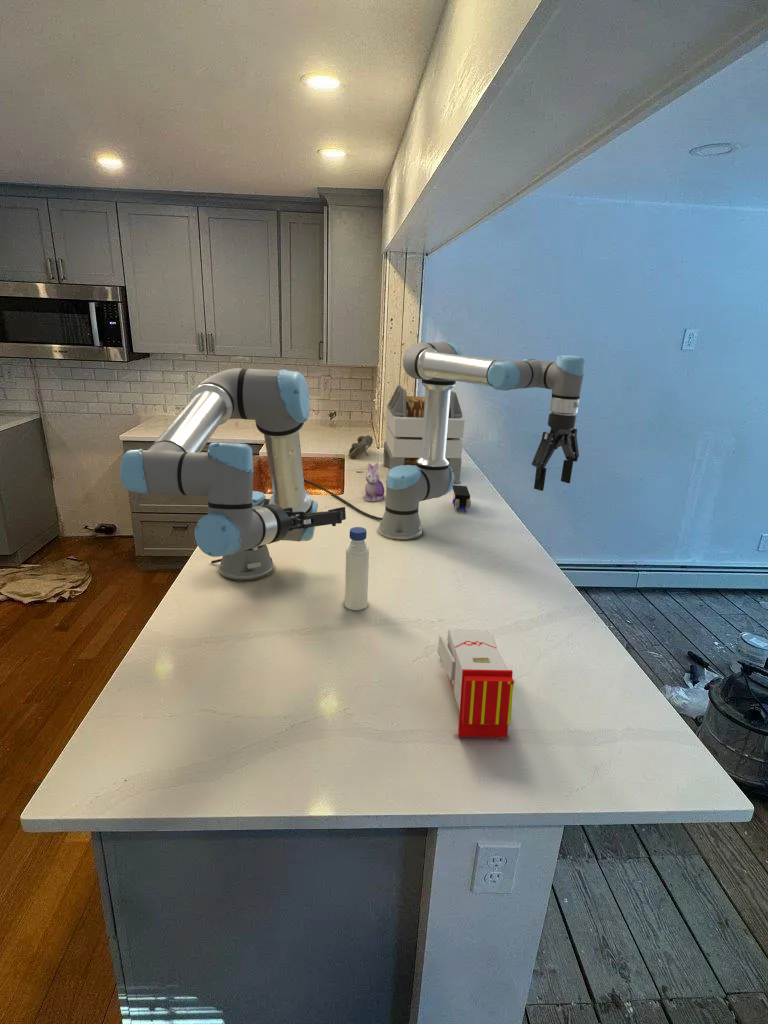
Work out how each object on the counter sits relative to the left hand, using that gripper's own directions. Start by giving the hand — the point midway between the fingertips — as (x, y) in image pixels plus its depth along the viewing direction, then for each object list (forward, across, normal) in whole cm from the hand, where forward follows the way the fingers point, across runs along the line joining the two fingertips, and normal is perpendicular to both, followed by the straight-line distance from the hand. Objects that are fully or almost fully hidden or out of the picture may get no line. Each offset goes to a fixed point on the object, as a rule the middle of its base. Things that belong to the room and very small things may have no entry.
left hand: (317, 513), depth 128 cm
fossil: (+165, -66, +14) cm, 178 cm away
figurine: (+103, -31, -5) cm, 108 cm away
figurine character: (+110, +3, -10) cm, 111 cm away
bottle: (+21, -2, -27) cm, 34 cm away
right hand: (+60, +45, +1) cm, 75 cm away
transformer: (+149, -27, +3) cm, 151 cm away
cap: (+17, +2, -6) cm, 18 cm away
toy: (0, +34, -38) cm, 51 cm away
